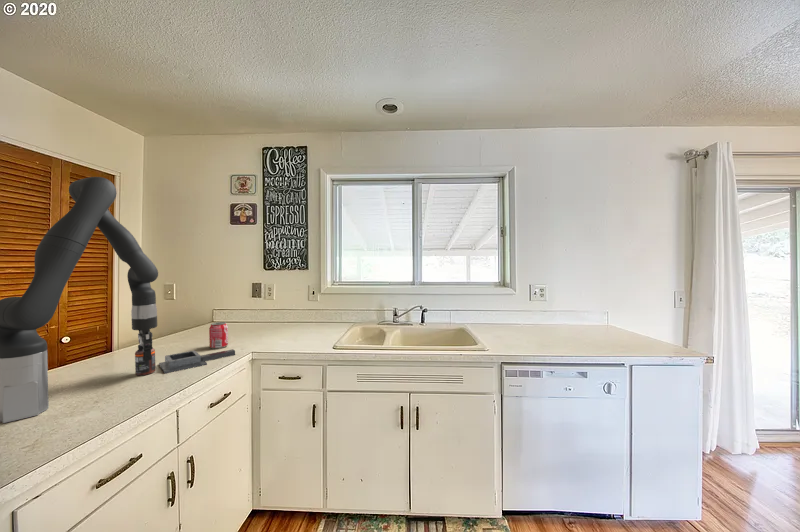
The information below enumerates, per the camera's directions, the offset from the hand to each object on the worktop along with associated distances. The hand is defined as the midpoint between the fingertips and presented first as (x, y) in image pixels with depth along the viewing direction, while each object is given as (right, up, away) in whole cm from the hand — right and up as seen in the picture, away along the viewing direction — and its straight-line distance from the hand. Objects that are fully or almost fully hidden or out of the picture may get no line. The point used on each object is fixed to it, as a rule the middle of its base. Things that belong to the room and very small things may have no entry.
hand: (145, 357), depth 116 cm
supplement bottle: (0, -6, 0) cm, 6 cm away
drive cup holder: (+12, -6, +14) cm, 19 cm away
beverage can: (+7, -5, +34) cm, 36 cm away
